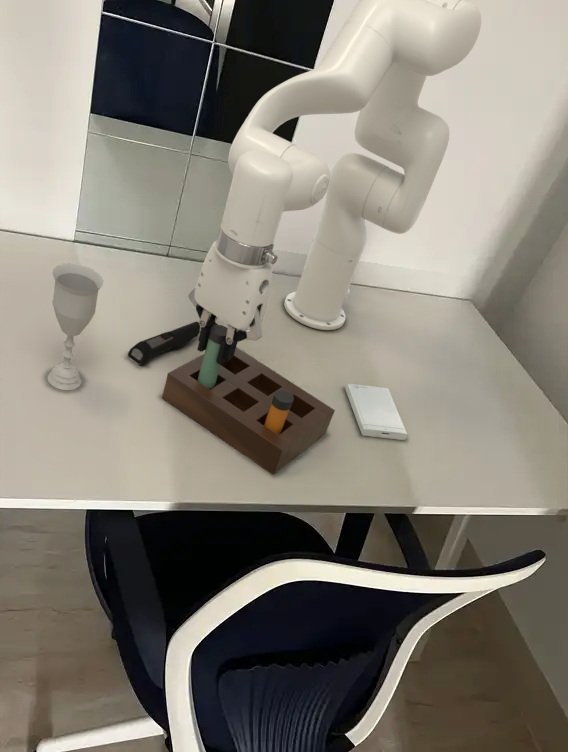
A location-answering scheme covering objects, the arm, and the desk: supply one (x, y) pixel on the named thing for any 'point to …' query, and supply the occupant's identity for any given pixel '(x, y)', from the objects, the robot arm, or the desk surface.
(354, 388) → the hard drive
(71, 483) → the desk surface
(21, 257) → the desk surface
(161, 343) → the electric trimmer
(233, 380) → the rack
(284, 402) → the amber tube
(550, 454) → the desk surface
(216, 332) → the sage tube
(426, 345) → the desk surface
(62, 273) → the chalice
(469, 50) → the robot arm
